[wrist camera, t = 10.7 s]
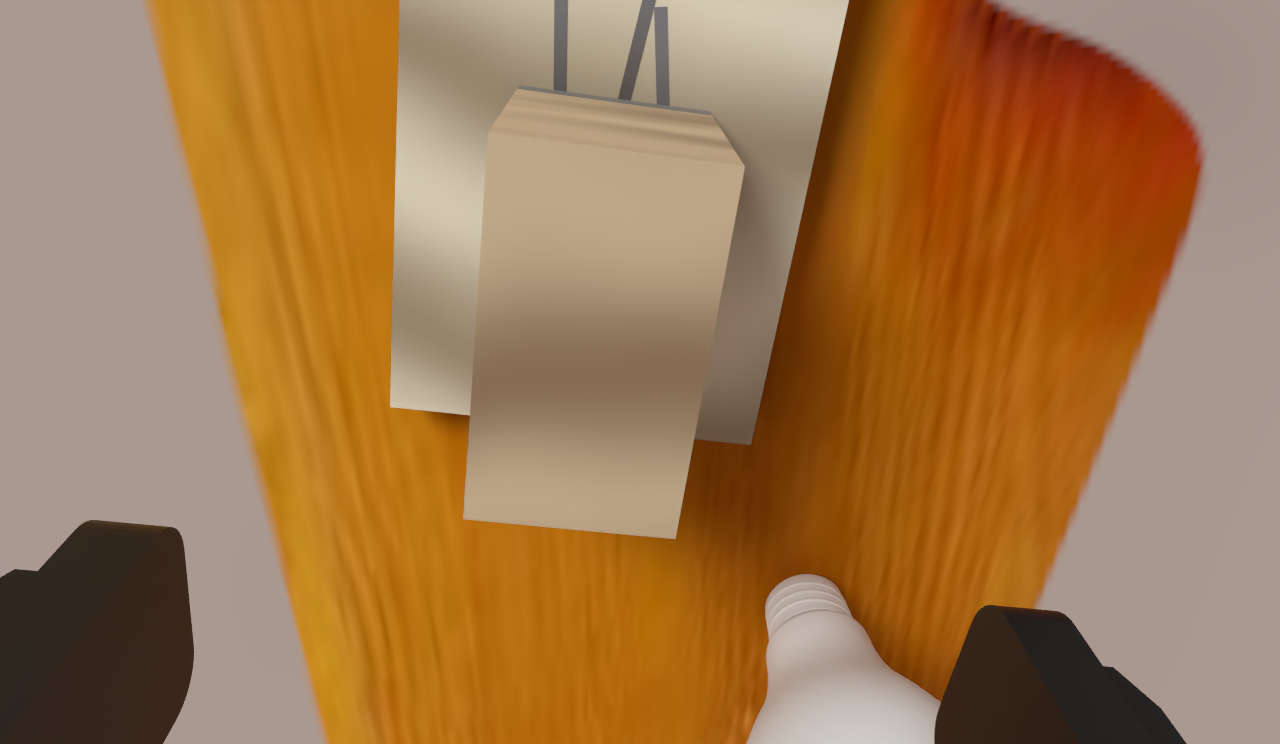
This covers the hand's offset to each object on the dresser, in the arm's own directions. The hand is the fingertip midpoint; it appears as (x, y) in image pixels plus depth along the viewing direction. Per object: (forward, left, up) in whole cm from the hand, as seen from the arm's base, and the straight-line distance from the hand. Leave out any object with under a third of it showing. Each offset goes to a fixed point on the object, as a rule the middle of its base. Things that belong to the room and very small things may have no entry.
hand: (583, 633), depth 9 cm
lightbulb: (+12, +8, -16) cm, 22 cm away
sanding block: (+1, 0, -15) cm, 15 cm away
